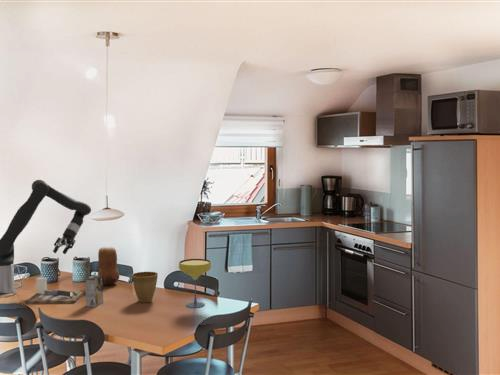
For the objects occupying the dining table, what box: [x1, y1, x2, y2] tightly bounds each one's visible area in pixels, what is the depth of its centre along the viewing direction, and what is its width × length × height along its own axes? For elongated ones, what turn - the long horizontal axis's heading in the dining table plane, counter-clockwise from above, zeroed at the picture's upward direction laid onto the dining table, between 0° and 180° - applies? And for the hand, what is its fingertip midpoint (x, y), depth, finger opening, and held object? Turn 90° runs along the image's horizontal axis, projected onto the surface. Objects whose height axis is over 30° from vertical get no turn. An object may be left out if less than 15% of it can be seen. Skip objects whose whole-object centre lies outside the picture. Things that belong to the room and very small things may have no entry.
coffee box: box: [84, 274, 104, 308], centre depth 312 cm, size 9×6×16 cm
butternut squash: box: [97, 246, 120, 286], centre depth 357 cm, size 14×13×25 cm
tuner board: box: [25, 290, 85, 305], centre depth 325 cm, size 28×20×3 cm
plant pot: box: [131, 271, 159, 303], centre depth 319 cm, size 15×15×16 cm
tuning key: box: [35, 276, 71, 297], centre depth 325 cm, size 24×4×9 cm, turn 67°
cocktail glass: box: [178, 258, 212, 309], centre depth 310 cm, size 18×18×25 cm
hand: (59, 252), depth 340 cm, fingers open, 8 cm apart
